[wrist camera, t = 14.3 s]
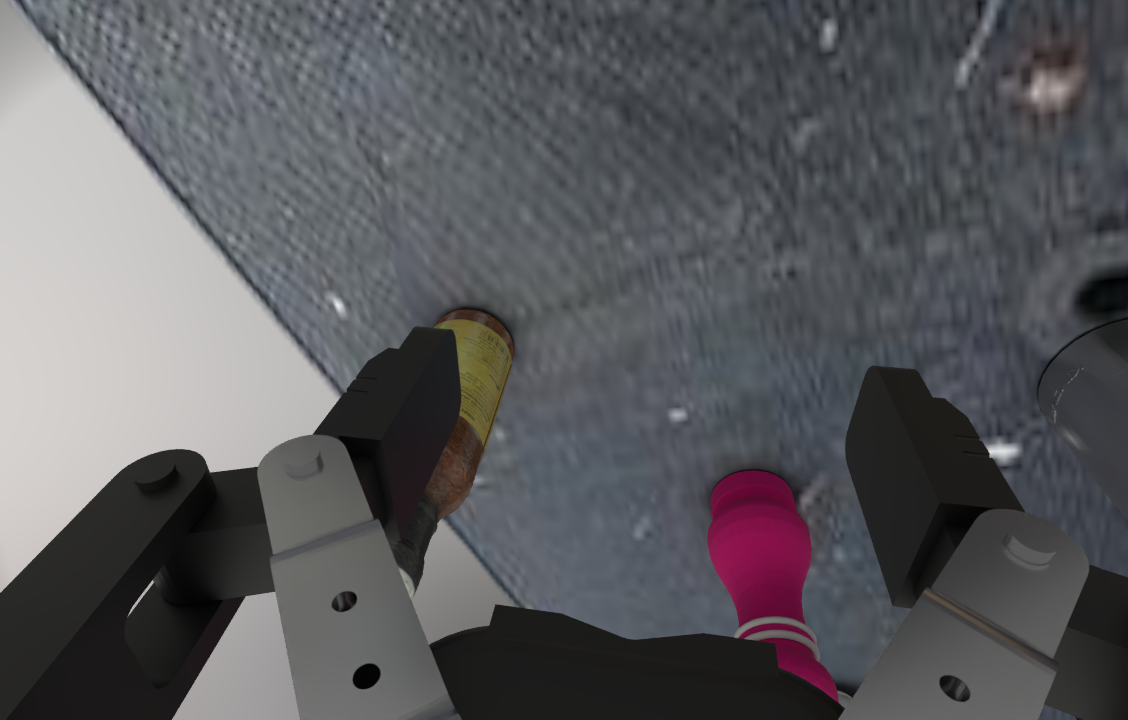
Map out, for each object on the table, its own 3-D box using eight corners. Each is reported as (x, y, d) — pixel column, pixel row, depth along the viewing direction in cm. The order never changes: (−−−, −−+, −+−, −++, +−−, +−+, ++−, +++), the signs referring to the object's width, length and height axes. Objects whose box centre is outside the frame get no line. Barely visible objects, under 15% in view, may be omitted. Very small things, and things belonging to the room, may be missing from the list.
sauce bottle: (429, 298, 44) (291, 517, 27) (519, 311, 43) (434, 539, 27) (432, 376, 47) (312, 609, 31) (515, 388, 47) (438, 630, 31)
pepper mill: (816, 480, 48) (898, 763, 32) (773, 539, 52) (826, 818, 36) (726, 453, 48) (760, 725, 31) (690, 515, 52) (704, 786, 35)
